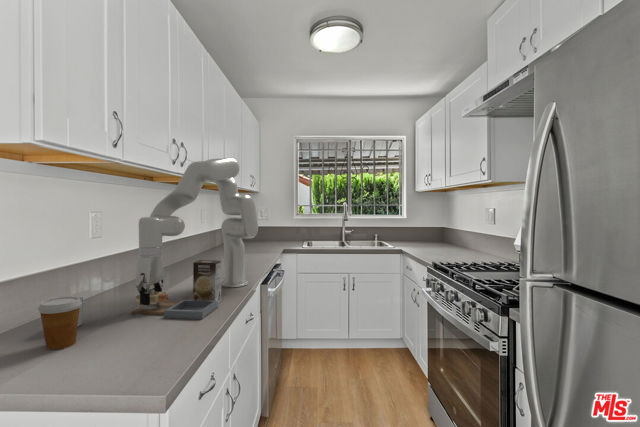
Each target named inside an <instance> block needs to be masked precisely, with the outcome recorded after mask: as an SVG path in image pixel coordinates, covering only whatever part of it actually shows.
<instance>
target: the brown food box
mask: <svg viewBox="0 0 640 427" xmlns="http://www.w3.org/2000/svg"><path fill="white" fill-rule="evenodd" d="M192 268H193V270H192V273H193V274H192V275H193V278H192V283H193V284H192V286H193V287H192V300H208V301H218V304H219V303H220V302H221V301H222V286H221V282H222V260H214V259H213V260H212V259H199V260H196V261H194V262H193V267H192Z"/></svg>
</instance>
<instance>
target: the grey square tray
mask: <svg viewBox="0 0 640 427" xmlns="http://www.w3.org/2000/svg"><path fill="white" fill-rule="evenodd" d="M180 301H181V302H179V303H177V304H175V305H173V306H172V307H170V308H168V309H166V310H164V314H165V315H164V319H183V320H184V319H187V320H190V319H191V320H204V319H205V318H206V317H208V316H210V314H211V313H213V312H214V311H216V310H217V309H218V308H219V303H218V301H208V300H193V299H183V300H180Z"/></svg>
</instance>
